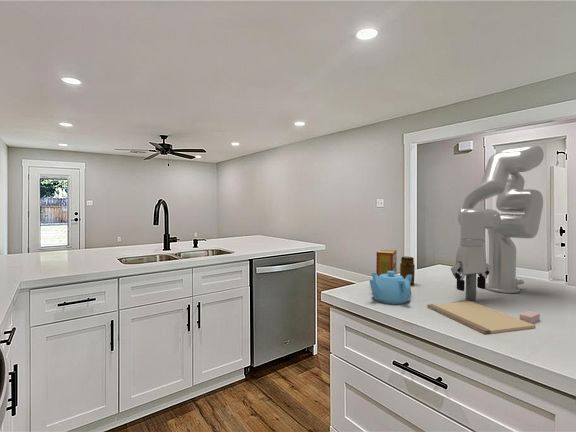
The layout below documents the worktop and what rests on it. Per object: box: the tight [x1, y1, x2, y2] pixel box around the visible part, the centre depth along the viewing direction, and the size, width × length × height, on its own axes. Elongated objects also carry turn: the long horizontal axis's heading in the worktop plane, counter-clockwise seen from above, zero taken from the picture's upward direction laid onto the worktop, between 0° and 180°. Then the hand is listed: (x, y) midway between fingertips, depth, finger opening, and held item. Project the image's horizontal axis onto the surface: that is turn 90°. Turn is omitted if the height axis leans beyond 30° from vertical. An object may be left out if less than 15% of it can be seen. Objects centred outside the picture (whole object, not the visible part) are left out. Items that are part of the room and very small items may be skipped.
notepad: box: [426, 300, 536, 335], centre depth 104 cm, size 18×24×1 cm
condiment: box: [399, 256, 422, 287], centre depth 146 cm, size 7×8×12 cm
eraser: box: [519, 310, 541, 325], centre depth 101 cm, size 6×3×2 cm, turn 122°
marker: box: [465, 274, 477, 303], centre depth 121 cm, size 4×4×12 cm
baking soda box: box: [375, 248, 398, 276], centre depth 141 cm, size 10×6×16 cm
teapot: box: [369, 271, 412, 305], centre depth 123 cm, size 15×15×11 cm
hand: (470, 289), depth 122 cm, fingers open, 8 cm apart
